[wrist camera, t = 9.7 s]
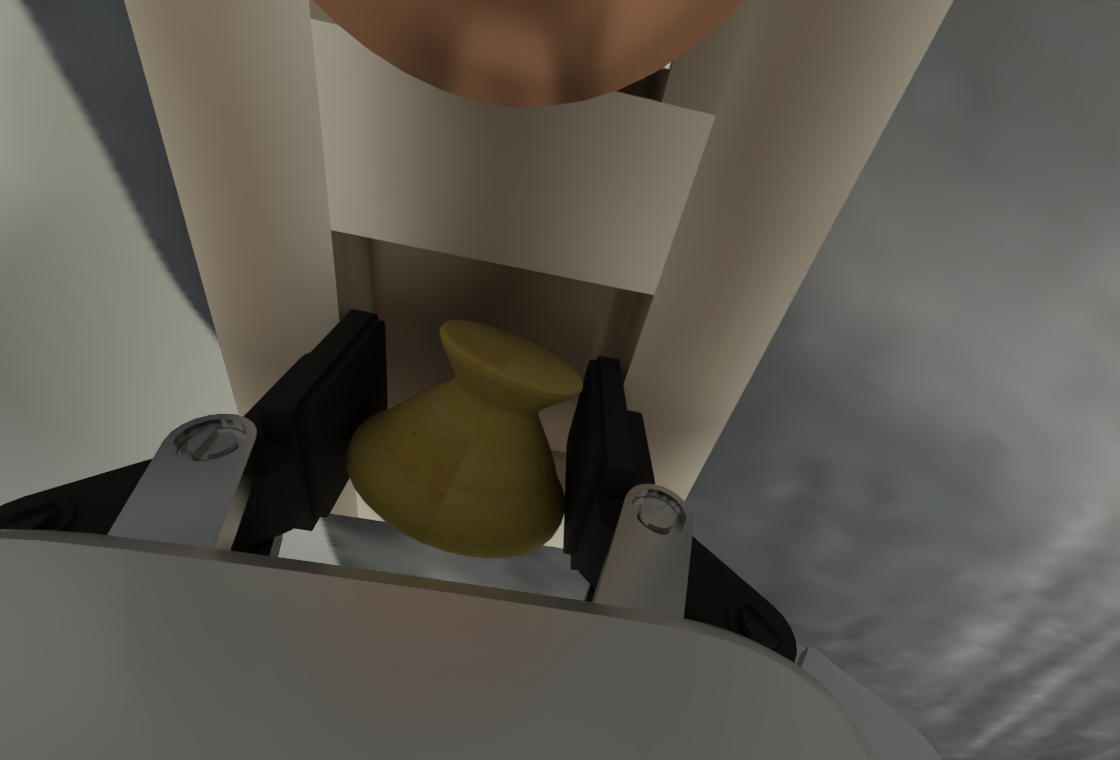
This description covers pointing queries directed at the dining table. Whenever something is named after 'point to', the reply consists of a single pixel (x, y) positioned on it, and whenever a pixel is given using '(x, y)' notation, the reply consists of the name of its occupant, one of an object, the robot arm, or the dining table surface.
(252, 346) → the mount
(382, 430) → the knob
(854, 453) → the dining table surface
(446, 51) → the plunger
